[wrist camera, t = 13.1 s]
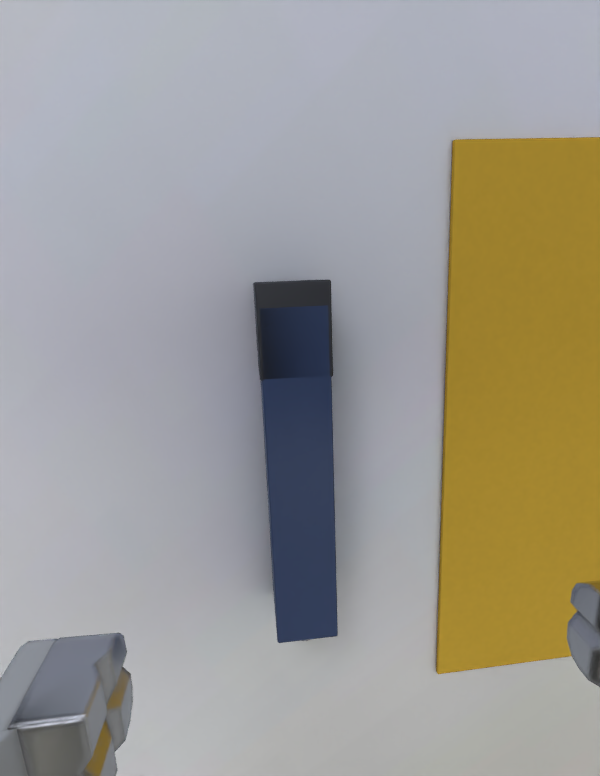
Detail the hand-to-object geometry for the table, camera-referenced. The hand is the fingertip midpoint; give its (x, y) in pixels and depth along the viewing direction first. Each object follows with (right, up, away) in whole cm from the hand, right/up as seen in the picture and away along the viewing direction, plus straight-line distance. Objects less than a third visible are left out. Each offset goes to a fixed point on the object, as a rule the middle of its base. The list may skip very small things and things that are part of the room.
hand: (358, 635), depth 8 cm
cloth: (+13, +3, +11) cm, 17 cm away
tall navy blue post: (-1, +2, +10) cm, 10 cm away
